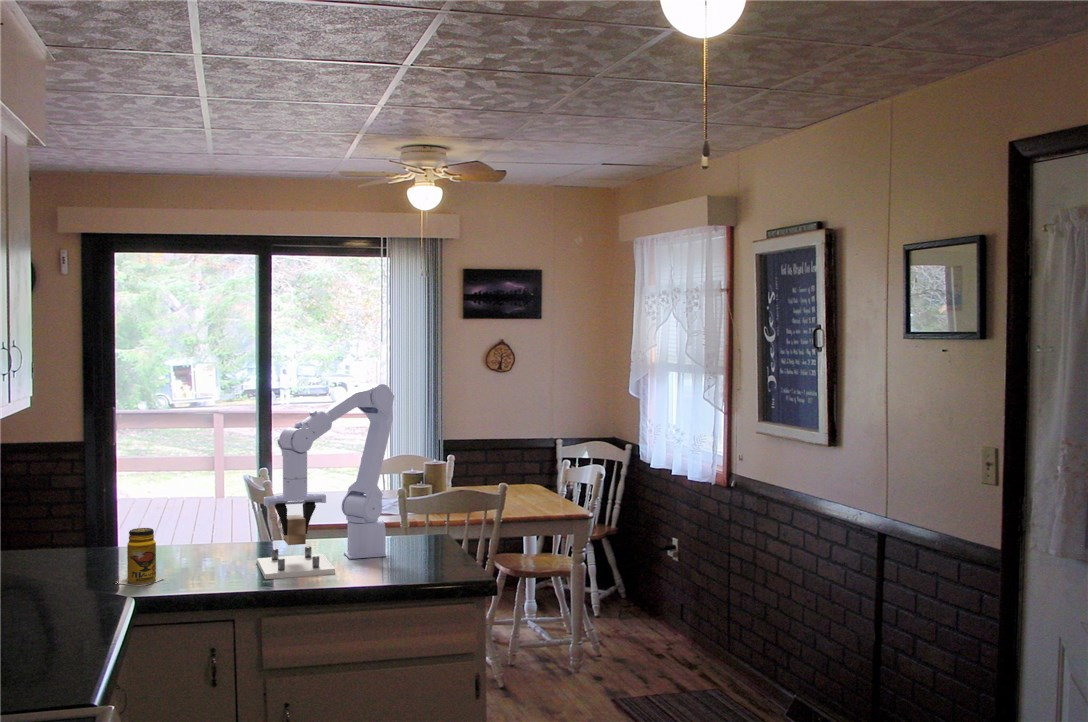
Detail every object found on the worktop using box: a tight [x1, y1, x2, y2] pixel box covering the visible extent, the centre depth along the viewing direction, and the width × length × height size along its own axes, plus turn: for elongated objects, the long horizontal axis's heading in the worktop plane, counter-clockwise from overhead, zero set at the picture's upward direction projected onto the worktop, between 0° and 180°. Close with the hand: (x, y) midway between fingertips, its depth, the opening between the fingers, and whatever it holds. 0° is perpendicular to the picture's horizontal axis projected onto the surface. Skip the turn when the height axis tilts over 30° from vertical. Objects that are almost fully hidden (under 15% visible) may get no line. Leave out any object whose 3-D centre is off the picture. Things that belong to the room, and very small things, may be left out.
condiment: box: [116, 527, 165, 587], centre depth 231 cm, size 7×8×12 cm
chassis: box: [256, 546, 336, 580], centre depth 245 cm, size 16×18×4 cm
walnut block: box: [283, 514, 307, 546], centre depth 246 cm, size 4×8×6 cm, turn 22°
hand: (295, 534), depth 245 cm, fingers closed on walnut block, 4 cm apart
